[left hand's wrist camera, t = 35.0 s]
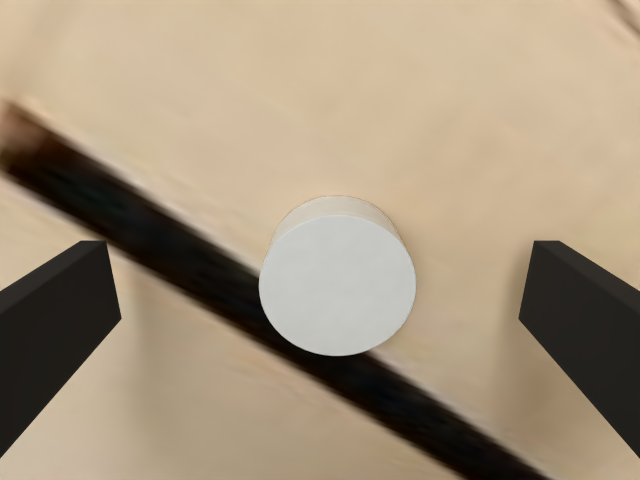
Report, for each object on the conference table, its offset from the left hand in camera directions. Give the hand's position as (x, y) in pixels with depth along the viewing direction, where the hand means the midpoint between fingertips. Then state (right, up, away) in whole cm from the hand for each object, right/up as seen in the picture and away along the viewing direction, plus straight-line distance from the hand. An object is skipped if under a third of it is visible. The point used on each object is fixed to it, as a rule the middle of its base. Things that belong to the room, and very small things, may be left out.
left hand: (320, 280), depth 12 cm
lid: (0, 0, 0) cm, 1 cm away
